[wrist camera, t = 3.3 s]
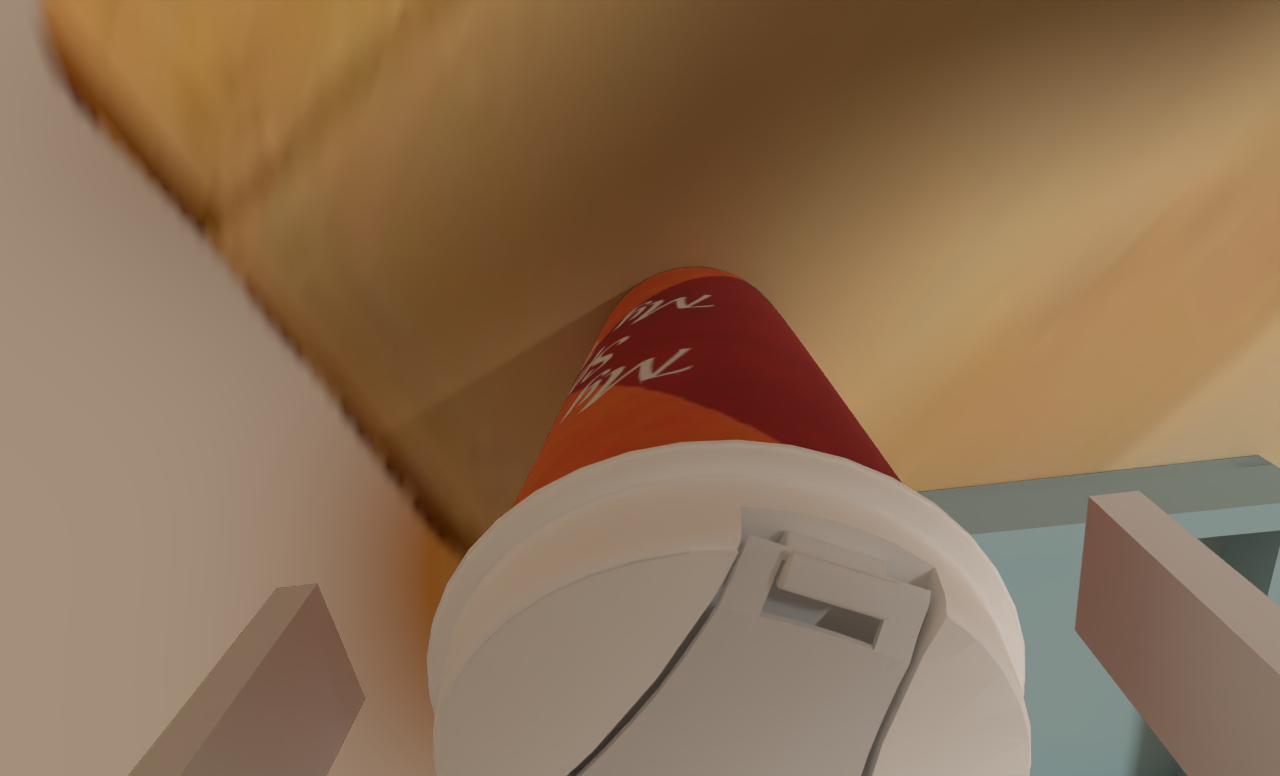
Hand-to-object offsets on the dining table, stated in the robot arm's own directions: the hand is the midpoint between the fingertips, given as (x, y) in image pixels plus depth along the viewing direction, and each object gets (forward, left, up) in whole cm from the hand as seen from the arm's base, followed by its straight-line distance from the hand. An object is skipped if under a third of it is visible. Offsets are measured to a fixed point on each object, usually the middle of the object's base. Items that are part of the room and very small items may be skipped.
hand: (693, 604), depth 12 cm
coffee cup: (0, 0, -12) cm, 11 cm away
